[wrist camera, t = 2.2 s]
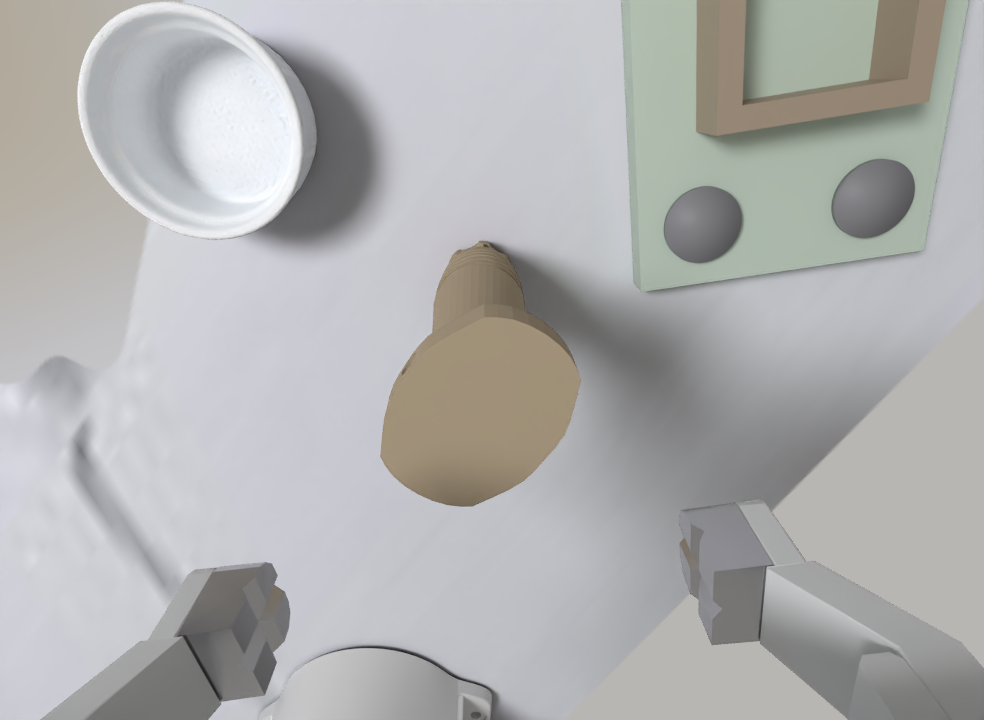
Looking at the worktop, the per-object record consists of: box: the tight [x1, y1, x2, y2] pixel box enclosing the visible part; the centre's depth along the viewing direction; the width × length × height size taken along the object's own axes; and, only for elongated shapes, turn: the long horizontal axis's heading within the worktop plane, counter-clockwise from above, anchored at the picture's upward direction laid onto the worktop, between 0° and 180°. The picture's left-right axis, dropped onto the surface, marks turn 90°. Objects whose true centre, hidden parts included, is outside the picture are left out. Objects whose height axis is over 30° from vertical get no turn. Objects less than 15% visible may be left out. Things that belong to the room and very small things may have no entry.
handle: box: [380, 241, 581, 506], centre depth 23 cm, size 5×6×15 cm
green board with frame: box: [621, 0, 969, 292], centre depth 24 cm, size 18×14×4 cm
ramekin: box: [77, 1, 317, 240], centre depth 25 cm, size 9×9×4 cm
